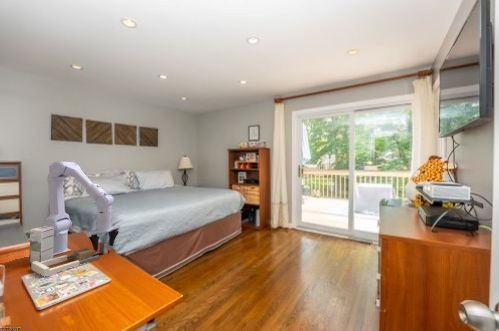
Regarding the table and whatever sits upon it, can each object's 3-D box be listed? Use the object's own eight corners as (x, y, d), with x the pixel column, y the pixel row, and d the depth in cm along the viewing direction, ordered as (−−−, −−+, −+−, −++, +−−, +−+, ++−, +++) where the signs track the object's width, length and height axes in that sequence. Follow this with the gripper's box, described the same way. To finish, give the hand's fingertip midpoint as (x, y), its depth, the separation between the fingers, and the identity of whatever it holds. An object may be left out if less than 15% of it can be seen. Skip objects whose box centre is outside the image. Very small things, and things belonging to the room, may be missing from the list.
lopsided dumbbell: (72, 259, 100) (73, 248, 100) (101, 250, 111) (102, 240, 111) (79, 263, 97) (80, 251, 97) (108, 253, 108) (109, 243, 108)
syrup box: (53, 258, 101) (54, 226, 101) (40, 264, 95) (41, 230, 95) (42, 257, 101) (43, 225, 101) (28, 263, 95) (29, 229, 95)
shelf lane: (31, 269, 90) (31, 262, 90) (65, 259, 100) (65, 252, 100) (44, 277, 84) (44, 269, 84) (79, 265, 94) (79, 258, 94)
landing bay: (65, 259, 100) (65, 256, 100) (85, 253, 107) (85, 250, 107) (79, 265, 94) (79, 262, 94) (99, 259, 101) (99, 255, 101)
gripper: (92, 224, 100) (91, 254, 100) (123, 218, 113) (123, 244, 113) (84, 222, 104) (83, 251, 104) (115, 216, 116) (114, 242, 116)
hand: (103, 247), depth 108 cm, fingers open, 7 cm apart
